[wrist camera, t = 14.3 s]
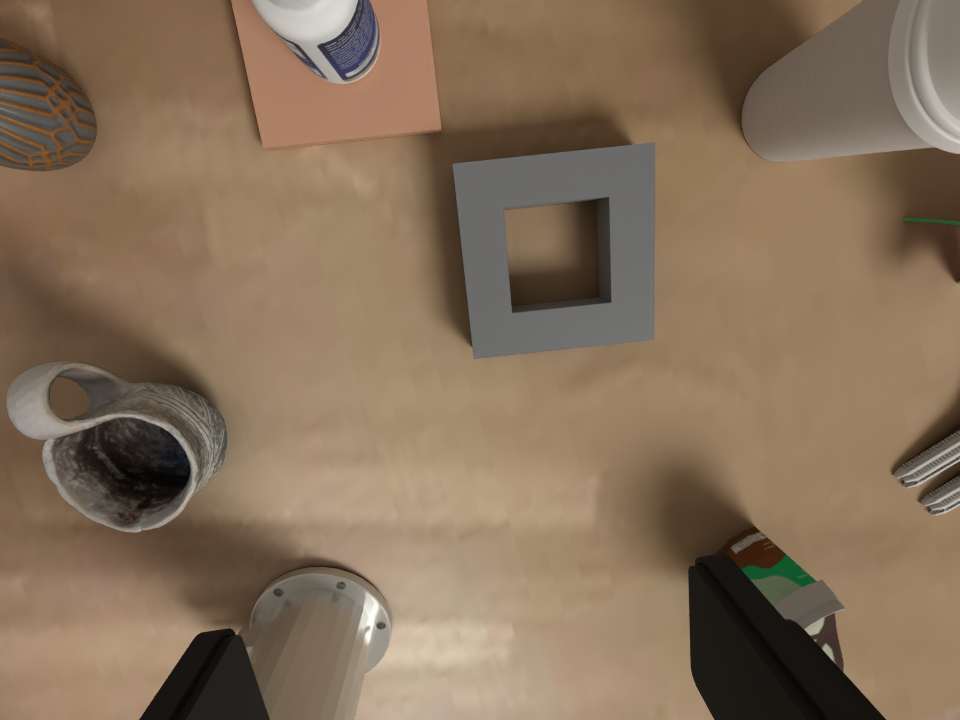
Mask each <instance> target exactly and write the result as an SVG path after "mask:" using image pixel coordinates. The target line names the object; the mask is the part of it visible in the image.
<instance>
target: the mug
mask: <svg viewBox="0 0 960 720" xmlns="http://www.w3.org/2000/svg"><path fill="white" fill-rule="evenodd" d="M57 377H64V378H69V379H71V380H73V381H75V382H77V383H78V384H79V385H80V386H81V387H82V388H84V390H85V391H86V392H87V394H88V396H89V399H90V404H91V407H90V409H89V411H88V412H87V413H85V414H83V415H80V416H77V417H75V418H73V419H61V418H60V417H58V416H57V415H56V414H55V413H54V412H53V411H52V407H51V403H50V394H49V393H50V387H51V385H52V383H53V382H54V380H55V379H56V378H57ZM6 409H7V412H8V415H9V418H10V420H11V421H12V423H13V425H14V426H15V427H16V428H17V429H18V430H19V431H20V432H21V433H22V434H23V435H25V436H27V437H29V438H33V439H38V440H43V439H46V441H45V444H44V447H43V450H42V458H43V463H44V467H45V470H46V473H47V475H48V477H49V479H50V480H51V481H52V482H53V483H54V484H55V485H56V488H57V491H58V492H59V493H60V495H61V496H62V498H64V499H65V500H66V501H67V502H68V503H69V504H71V505H72V506H73V507H75V508H76V509H77V510H78V511H79V512H81V513H82V514H83V515H85V516H86V517H88V518H89V519H91V520H93V521H95V522H98V523H100V524H103V525H105V526H108V527H110V528H113V529H116V530H120V531H123V532H133V533H135V532H141V531H142V530H150V529H154V528H159V527H161V526H163V525H165V524H167V523H168V522H170V521H172V520H173V519H174V518H176V517H177V516H178V515H179V514H180V513H181V512H182V511H183V510H184V509H185V507H186V506H187V504H188V502H189V500H190V499H191V497H192V496H194V495H195V494H197V493H198V492H199V491H200V490H202V489H203V488H204V487H205V486H206V485H208V484H209V483H210V482H211V481H212V480H213V479H214V477H215V476H216V474H217V473H218V471H219V470H220V468H221V466H222V464H223V461H224V457H225V453H226V448H227V432H226V426H225V423H224V419H223V417H222V416H221V414H220V413H219V411H218V410H217V409H216V408H215V407H214V405H213V404H211V403H210V402H209V401H208V400H207V399H206V398H204V397H202V396H201V395H199V394H197V393H194V392H192V391H189V390H187V389H185V388H182V387H179V386H174V385H171V384H164V383H156V382H140V383H130V382H127V381H125V380H124V379H122V378H120V377H119V376H117V375H115V374H113V373H111V372H109V371H107V370H105V369H103V368H100V367H98V366H95V365H92V364H88V363H84V362H80V361H57V362H49V363H44V364H40V365H36V366H34V367H32V368H31V369H29V370H27V371H25V372H23V373H22V374H20V375H19V376H18V377H17V378H16V379H15V380H14V381H13V382H12V384H11V385H10V387H9V389H8V391H7V395H6Z"/></svg>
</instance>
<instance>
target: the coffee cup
mask: <svg viewBox="0 0 960 720" xmlns="http://www.w3.org/2000/svg"><path fill="white" fill-rule="evenodd" d="M742 130H743V134H744V137H745V139H746V141H747V143H748V145H749V146H750V148H751V149H752V150H753V151H754V152H755V153H756V154H757V155H759V156H760V157H762V158H764V159H766V160H769V161H774V162H787V161H797V160H807V159H817V158H827V157H838V156H848V155H858V154H868V153H879V152H889V151H900V150H910V149H921V148H932V147H936V148H938V149H941V150H944V151H947V152H951V153H956V154H960V0H863V1H862V2H861V3H859V4H858V5H856V6H855V7H854V8H852V9H851V10H849V11H848V12H846V13H845V14H844V15H842V16H841V17H839V18H838V19H837V20H835V21H834V22H832V23H831V24H829V25H828V26H827V27H825V28H824V29H822V30H821V31H820V32H818V33H817V34H815V35H814V36H812V37H811V38H810V39H808V40H807V41H805V42H804V43H802V44H801V45H800V46H798V47H797V48H795V49H794V50H793V51H791V52H790V53H788V54H787V55H785V56H784V57H783V58H781V59H780V60H778V61H777V62H776V63H774V64H773V65H771V66H770V67H769V68H767V69H766V70H765V71H764V72H762V73H761V74H760V75H759V76H758V78H757V79H756V80H755V81H754V83H753V84H752V86H751V87H750V89H749V91H748V93H747V95H746V98H745V101H744V104H743V109H742Z"/></svg>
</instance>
